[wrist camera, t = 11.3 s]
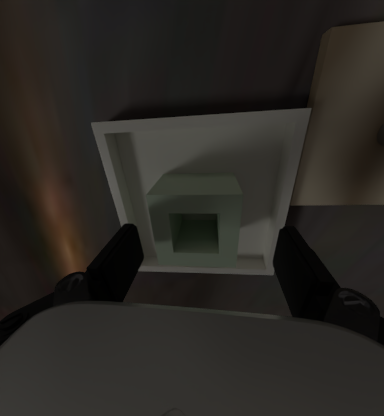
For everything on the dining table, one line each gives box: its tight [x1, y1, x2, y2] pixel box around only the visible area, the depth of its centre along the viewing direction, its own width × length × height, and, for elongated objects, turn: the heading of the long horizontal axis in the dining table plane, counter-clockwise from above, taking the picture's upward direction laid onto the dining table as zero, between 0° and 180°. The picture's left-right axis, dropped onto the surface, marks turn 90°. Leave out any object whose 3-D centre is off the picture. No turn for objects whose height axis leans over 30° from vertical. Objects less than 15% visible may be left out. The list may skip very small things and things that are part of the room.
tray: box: [91, 108, 312, 275], centre depth 17 cm, size 16×16×2 cm
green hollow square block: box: [146, 173, 243, 268], centre depth 15 cm, size 6×6×5 cm
